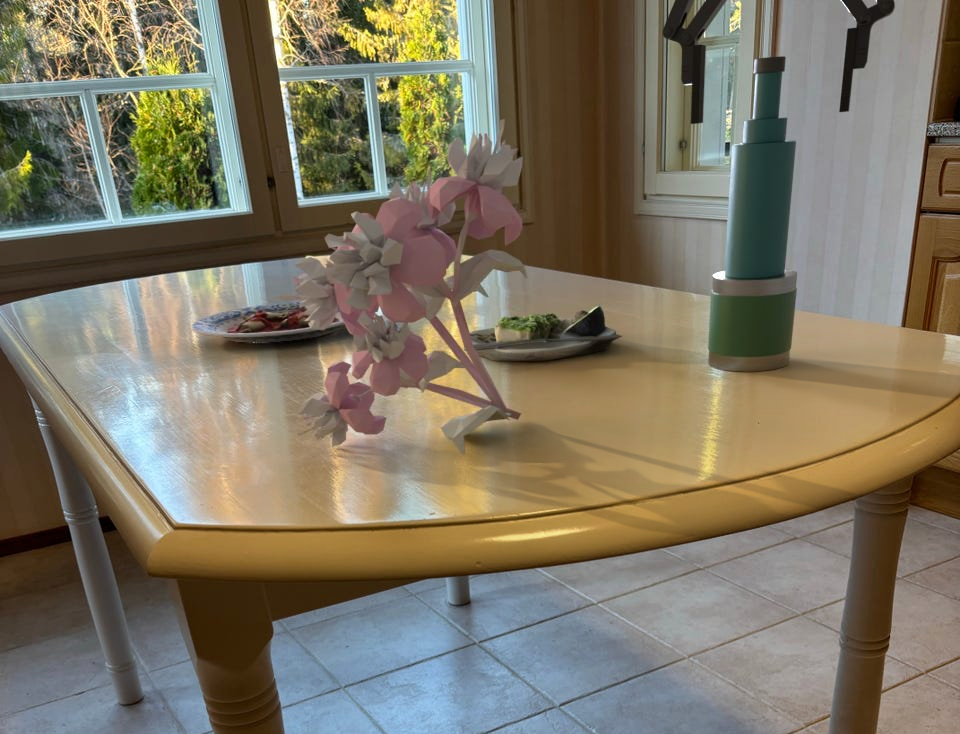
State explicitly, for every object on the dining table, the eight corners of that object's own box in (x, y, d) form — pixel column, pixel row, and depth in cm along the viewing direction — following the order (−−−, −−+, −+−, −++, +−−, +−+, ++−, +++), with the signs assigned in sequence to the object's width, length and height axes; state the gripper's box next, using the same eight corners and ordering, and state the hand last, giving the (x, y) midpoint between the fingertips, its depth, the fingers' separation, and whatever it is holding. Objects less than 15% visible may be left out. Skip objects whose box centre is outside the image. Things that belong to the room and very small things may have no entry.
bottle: (787, 269, 97) (806, 55, 88) (781, 278, 92) (801, 53, 83) (728, 270, 99) (741, 61, 90) (720, 278, 94) (732, 59, 85)
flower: (418, 374, 98) (298, 142, 81) (609, 366, 86) (515, 90, 68) (322, 509, 89) (164, 280, 72) (520, 522, 77) (386, 249, 59)
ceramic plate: (363, 344, 123) (360, 320, 121) (171, 356, 124) (166, 333, 122) (381, 310, 145) (379, 290, 144) (219, 321, 146) (215, 301, 145)
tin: (793, 354, 102) (801, 267, 98) (785, 372, 95) (794, 280, 91) (713, 353, 105) (718, 268, 101) (701, 371, 98) (705, 281, 94)
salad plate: (499, 376, 102) (497, 332, 100) (428, 351, 116) (425, 313, 113) (641, 348, 109) (642, 307, 107) (558, 328, 123) (557, 292, 121)
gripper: (632, -151, 80) (631, 129, 90) (952, -211, 71) (911, 106, 81) (651, -134, 86) (647, 127, 96) (948, -187, 77) (909, 106, 88)
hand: (768, 118), depth 89 cm, fingers open, 13 cm apart
